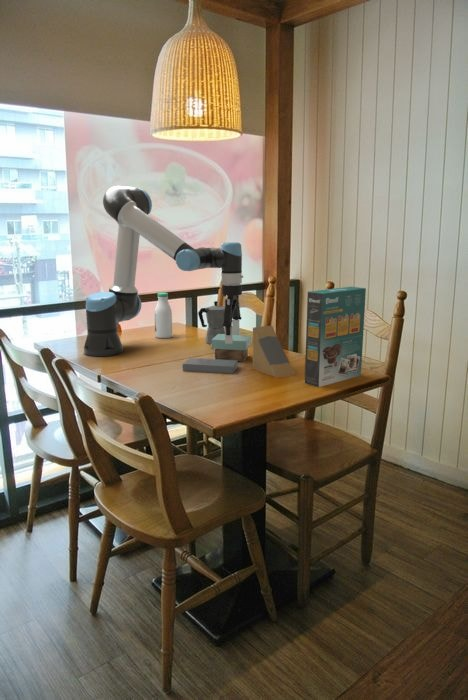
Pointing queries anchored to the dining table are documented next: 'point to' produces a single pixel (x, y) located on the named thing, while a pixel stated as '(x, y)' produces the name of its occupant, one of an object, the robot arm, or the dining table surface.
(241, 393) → the dining table surface
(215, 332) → the coffeepot
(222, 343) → the lid
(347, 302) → the cake mix box
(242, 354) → the crate
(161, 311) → the milk bottle
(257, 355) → the sandwich container
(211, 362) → the board
